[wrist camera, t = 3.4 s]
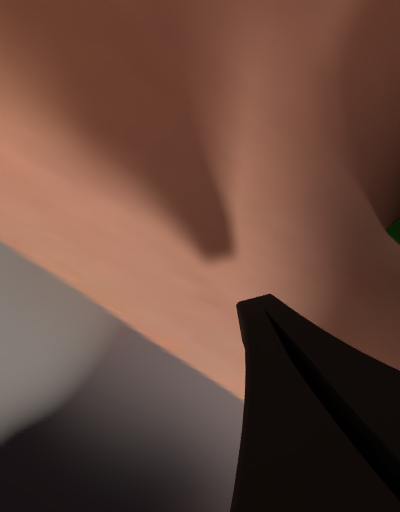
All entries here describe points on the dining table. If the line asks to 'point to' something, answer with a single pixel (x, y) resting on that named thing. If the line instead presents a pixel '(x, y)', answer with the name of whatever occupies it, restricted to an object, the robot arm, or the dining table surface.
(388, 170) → the dining table surface
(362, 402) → the robot arm
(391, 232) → the clamp
